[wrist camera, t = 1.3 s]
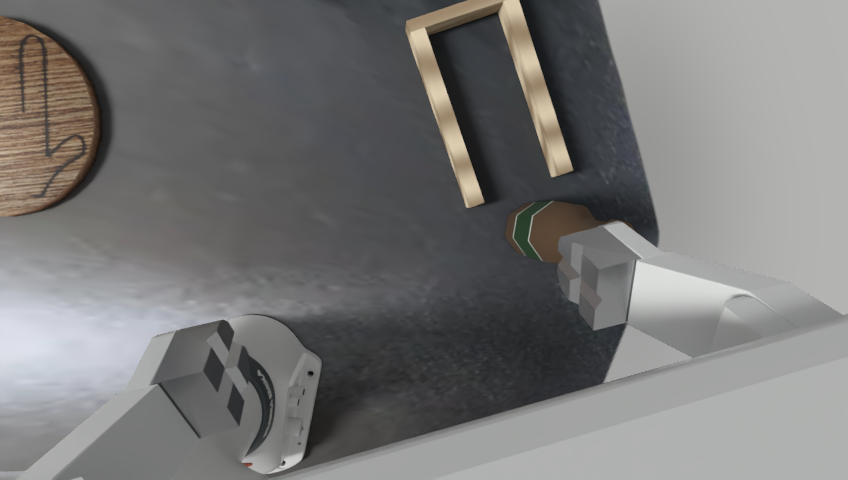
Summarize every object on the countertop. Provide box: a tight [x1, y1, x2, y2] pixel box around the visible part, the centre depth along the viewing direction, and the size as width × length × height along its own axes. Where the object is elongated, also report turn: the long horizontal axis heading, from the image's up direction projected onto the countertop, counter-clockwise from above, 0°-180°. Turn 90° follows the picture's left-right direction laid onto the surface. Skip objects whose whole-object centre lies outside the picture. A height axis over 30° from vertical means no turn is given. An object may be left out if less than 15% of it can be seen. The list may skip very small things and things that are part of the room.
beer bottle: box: [505, 201, 637, 264], centre depth 48 cm, size 8×8×24 cm
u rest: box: [406, 0, 573, 208], centre depth 56 cm, size 26×15×3 cm, turn 20°
